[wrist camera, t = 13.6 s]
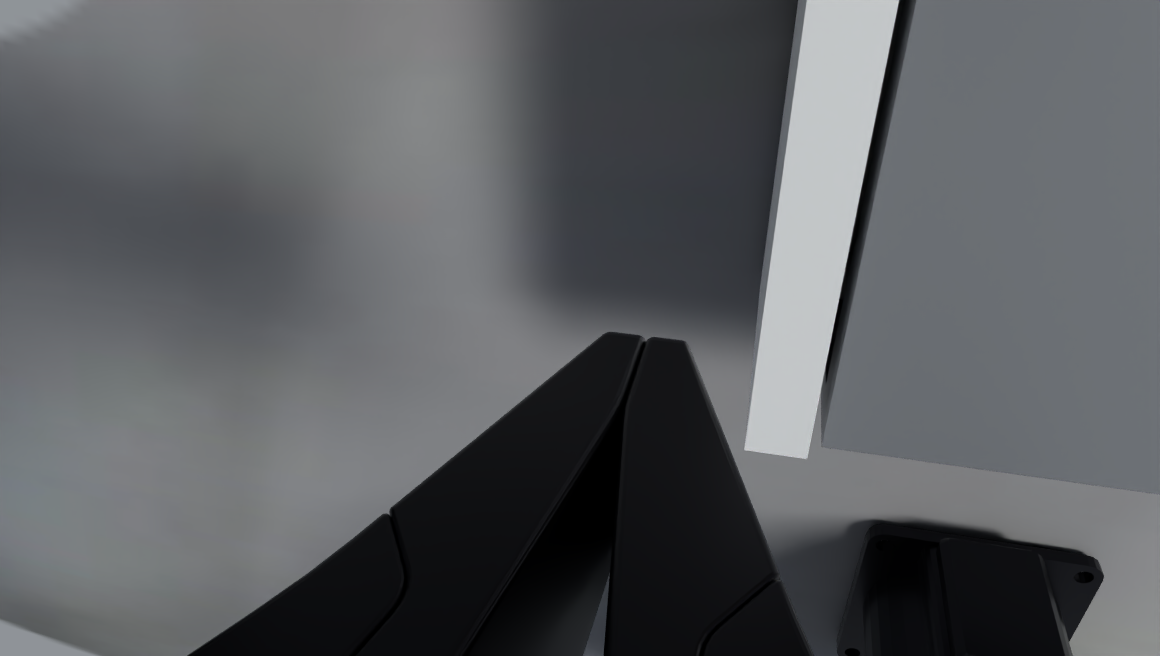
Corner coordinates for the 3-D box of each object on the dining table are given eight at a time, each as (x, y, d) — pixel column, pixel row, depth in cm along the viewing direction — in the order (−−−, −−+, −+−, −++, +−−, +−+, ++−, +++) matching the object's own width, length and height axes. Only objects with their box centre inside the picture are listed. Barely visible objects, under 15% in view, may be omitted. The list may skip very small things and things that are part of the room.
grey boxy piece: (1249, 338, 19) (1390, 542, 15) (760, 286, 21) (744, 450, 17) (1642, -361, 12) (2180, -409, 7) (843, -340, 14) (857, -364, 9)
